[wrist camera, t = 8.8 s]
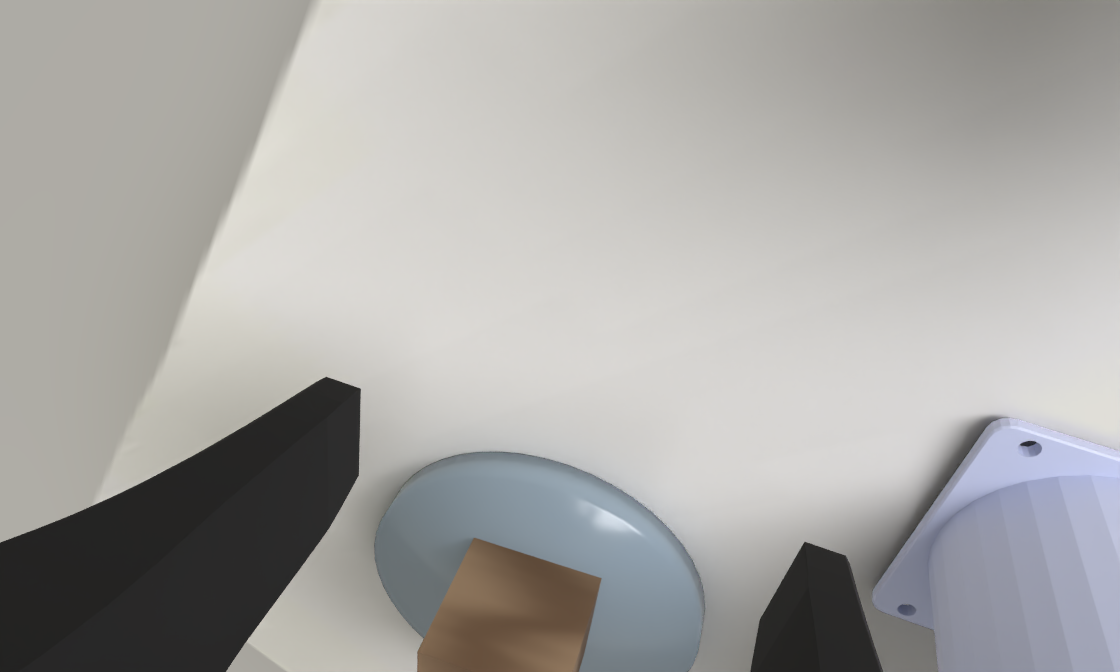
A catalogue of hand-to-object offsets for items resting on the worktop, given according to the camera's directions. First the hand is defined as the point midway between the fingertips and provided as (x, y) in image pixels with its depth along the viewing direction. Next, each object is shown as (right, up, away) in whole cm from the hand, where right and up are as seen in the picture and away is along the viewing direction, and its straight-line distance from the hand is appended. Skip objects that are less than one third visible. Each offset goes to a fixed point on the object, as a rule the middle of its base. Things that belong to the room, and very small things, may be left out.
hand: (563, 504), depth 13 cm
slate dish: (-1, -6, +17) cm, 18 cm away
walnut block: (-1, -7, +15) cm, 17 cm away
